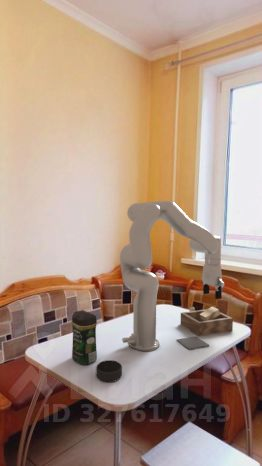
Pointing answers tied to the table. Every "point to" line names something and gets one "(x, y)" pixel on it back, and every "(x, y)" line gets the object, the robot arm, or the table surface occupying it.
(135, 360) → the table surface
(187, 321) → the block
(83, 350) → the coffee jar
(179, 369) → the table surface
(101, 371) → the black round bowl
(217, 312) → the tan rectangular block
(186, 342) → the rubber mat
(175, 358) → the table surface
